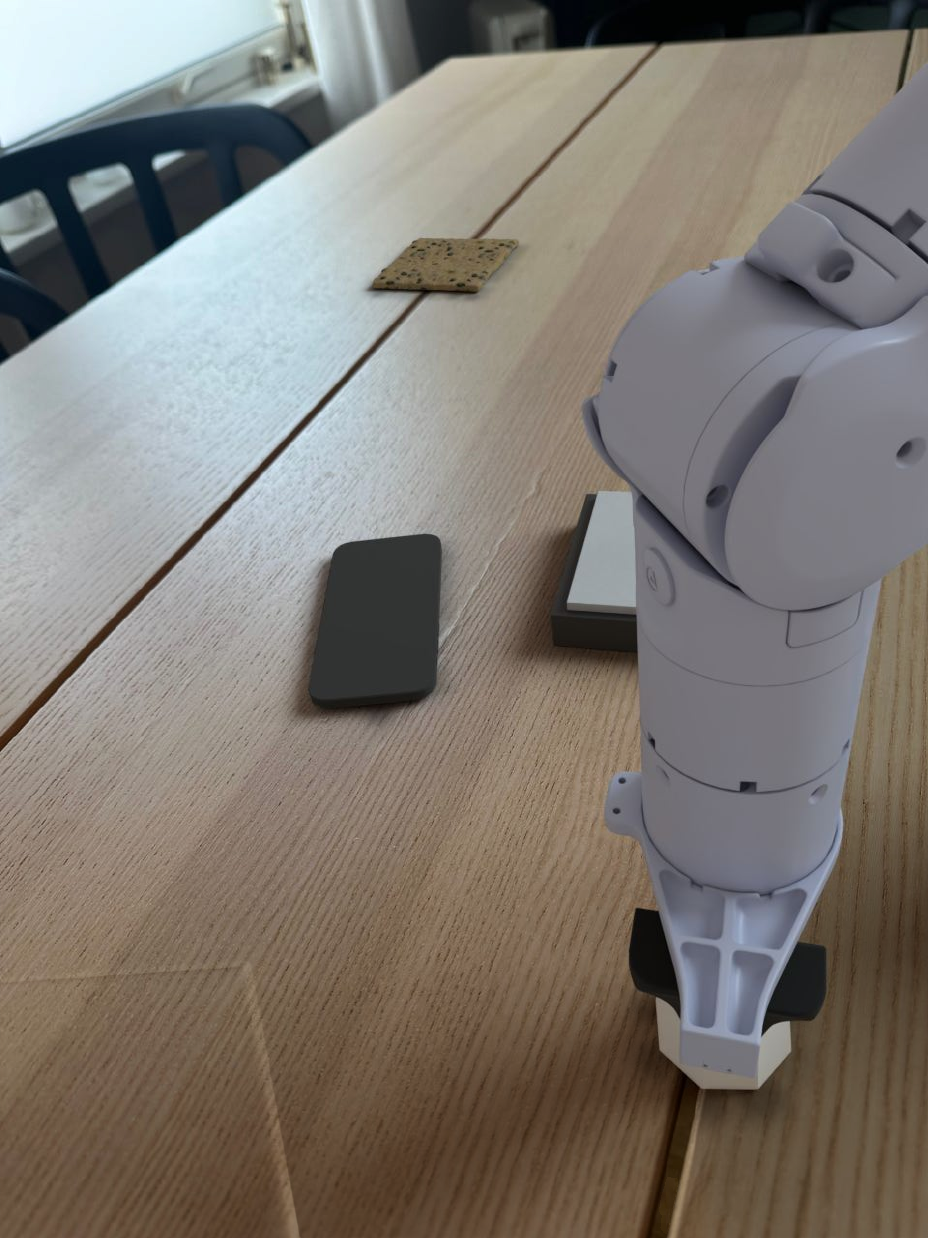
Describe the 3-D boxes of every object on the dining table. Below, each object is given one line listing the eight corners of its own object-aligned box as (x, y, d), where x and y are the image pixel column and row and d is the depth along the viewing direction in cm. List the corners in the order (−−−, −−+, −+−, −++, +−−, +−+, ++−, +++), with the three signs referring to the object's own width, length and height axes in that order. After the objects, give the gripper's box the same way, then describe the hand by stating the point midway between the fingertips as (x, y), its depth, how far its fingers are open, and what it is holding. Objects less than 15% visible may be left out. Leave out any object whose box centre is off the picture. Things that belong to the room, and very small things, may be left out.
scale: (809, 532, 61) (814, 493, 60) (807, 666, 53) (812, 625, 51) (587, 522, 65) (585, 485, 63) (553, 645, 57) (549, 607, 55)
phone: (442, 531, 66) (435, 690, 54) (443, 540, 66) (437, 700, 55) (333, 542, 66) (304, 702, 55) (336, 552, 67) (308, 712, 55)
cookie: (521, 242, 104) (520, 233, 103) (479, 292, 96) (478, 282, 95) (419, 241, 108) (417, 232, 107) (371, 288, 100) (369, 279, 99)
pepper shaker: (746, 945, 42) (762, 780, 34) (820, 1064, 38) (856, 906, 30) (629, 992, 41) (620, 833, 34) (692, 1119, 37) (698, 969, 30)
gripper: (634, 544, 33) (642, 794, 42) (550, 920, 23) (584, 1145, 32) (856, 555, 31) (815, 815, 40) (871, 972, 21) (812, 1197, 30)
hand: (726, 964), depth 36 cm, fingers open, 5 cm apart
